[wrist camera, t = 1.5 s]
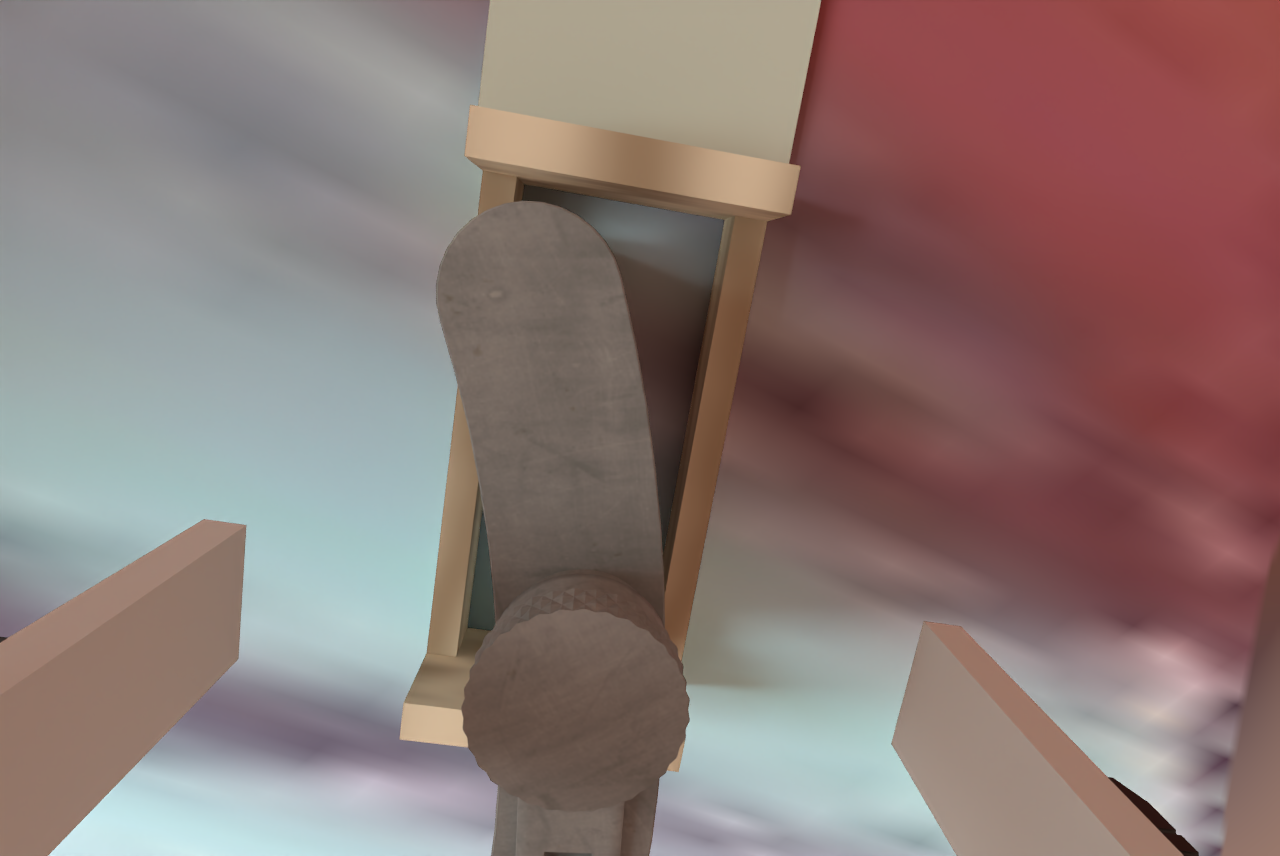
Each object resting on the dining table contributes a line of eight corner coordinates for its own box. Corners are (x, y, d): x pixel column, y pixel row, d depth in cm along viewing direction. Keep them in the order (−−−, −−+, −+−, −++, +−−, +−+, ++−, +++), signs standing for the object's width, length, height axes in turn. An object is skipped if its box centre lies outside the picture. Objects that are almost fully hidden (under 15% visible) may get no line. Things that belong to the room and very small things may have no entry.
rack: (436, 654, 33) (399, 739, 27) (498, 138, 28) (469, 104, 22) (665, 683, 34) (678, 771, 28) (761, 186, 29) (800, 166, 23)
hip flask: (532, 239, 29) (382, 184, 10) (634, 238, 29) (692, 182, 10) (548, 610, 33) (462, 1125, 13) (639, 607, 33) (690, 1111, 13)
